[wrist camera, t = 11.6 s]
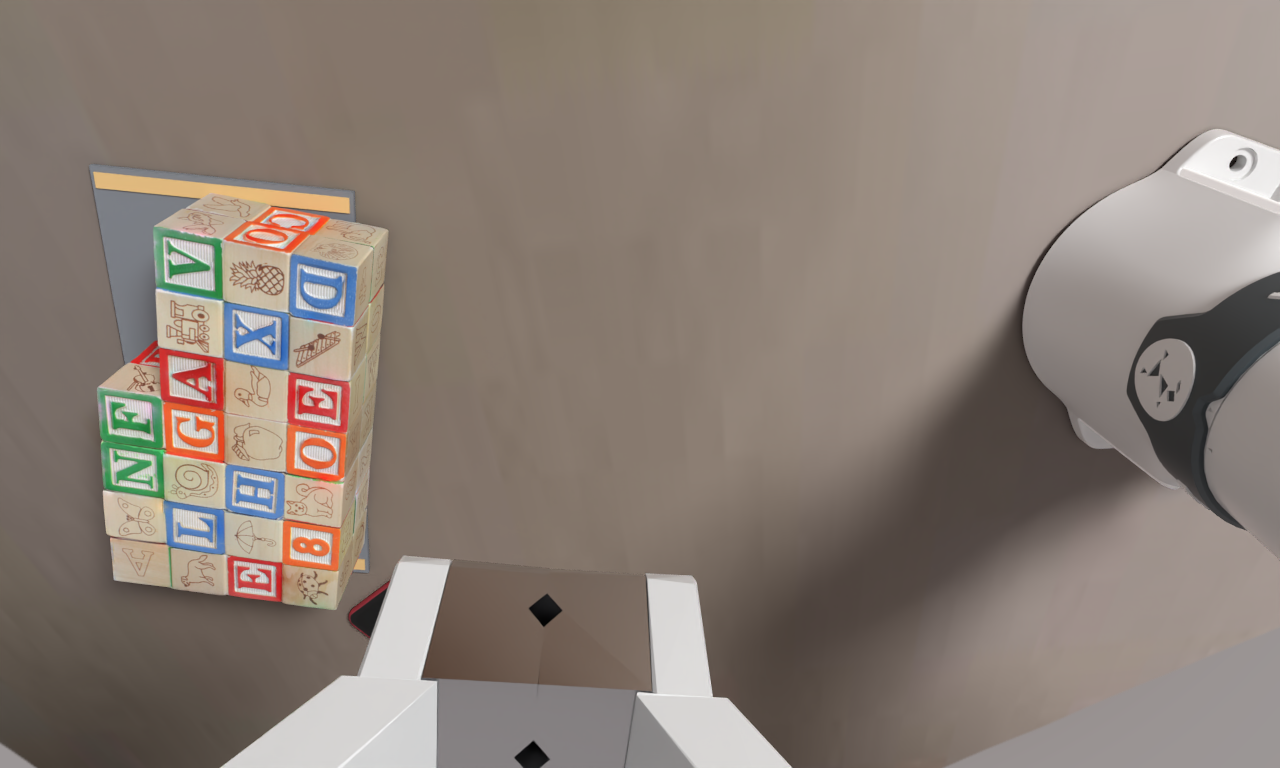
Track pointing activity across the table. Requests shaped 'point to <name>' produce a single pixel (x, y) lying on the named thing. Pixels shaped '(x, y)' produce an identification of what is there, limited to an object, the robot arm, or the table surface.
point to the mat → (152, 197)
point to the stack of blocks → (248, 406)
